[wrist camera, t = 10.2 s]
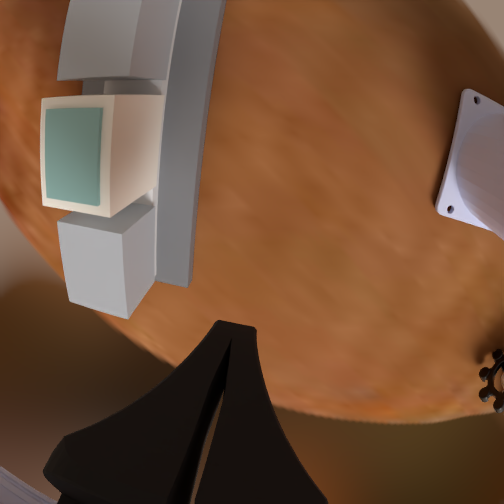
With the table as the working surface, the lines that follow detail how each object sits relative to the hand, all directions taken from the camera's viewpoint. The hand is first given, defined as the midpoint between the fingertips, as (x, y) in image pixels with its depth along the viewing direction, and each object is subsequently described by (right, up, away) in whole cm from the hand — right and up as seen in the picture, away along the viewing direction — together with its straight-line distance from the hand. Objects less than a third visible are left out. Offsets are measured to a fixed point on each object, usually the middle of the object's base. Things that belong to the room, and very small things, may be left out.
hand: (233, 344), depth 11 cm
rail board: (-6, +11, +6) cm, 14 cm away
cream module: (-6, +9, +5) cm, 12 cm away
